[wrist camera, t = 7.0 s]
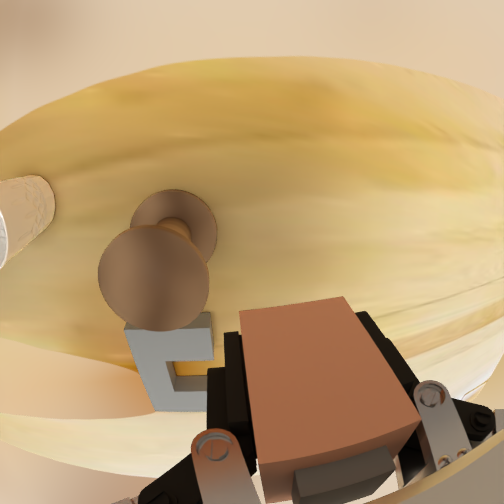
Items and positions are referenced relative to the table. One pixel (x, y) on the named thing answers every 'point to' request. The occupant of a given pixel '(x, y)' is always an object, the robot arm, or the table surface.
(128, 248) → the bobbin
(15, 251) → the white cup
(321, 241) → the table surface
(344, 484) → the copper brown square peg
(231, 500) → the robot arm
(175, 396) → the notch board
